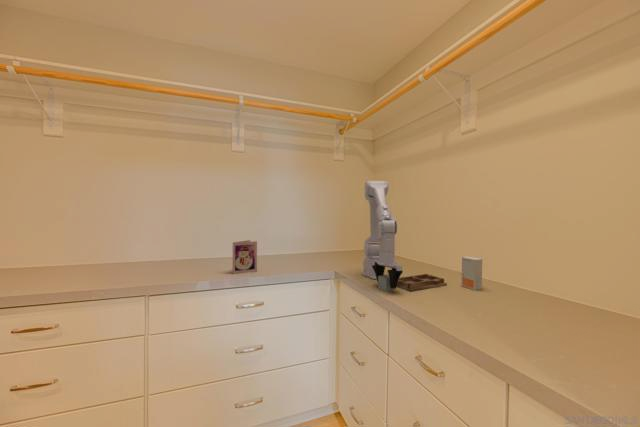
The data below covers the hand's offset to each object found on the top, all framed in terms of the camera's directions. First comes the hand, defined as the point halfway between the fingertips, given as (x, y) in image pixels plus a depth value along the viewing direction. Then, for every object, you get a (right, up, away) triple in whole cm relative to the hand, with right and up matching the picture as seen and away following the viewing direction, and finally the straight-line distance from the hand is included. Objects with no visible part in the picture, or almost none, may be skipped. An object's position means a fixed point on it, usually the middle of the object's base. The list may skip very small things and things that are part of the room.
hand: (386, 285), depth 101 cm
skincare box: (+34, -2, +2) cm, 35 cm away
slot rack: (+15, -1, +6) cm, 16 cm away
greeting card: (-63, -1, +27) cm, 69 cm away
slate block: (0, -2, 0) cm, 2 cm away
